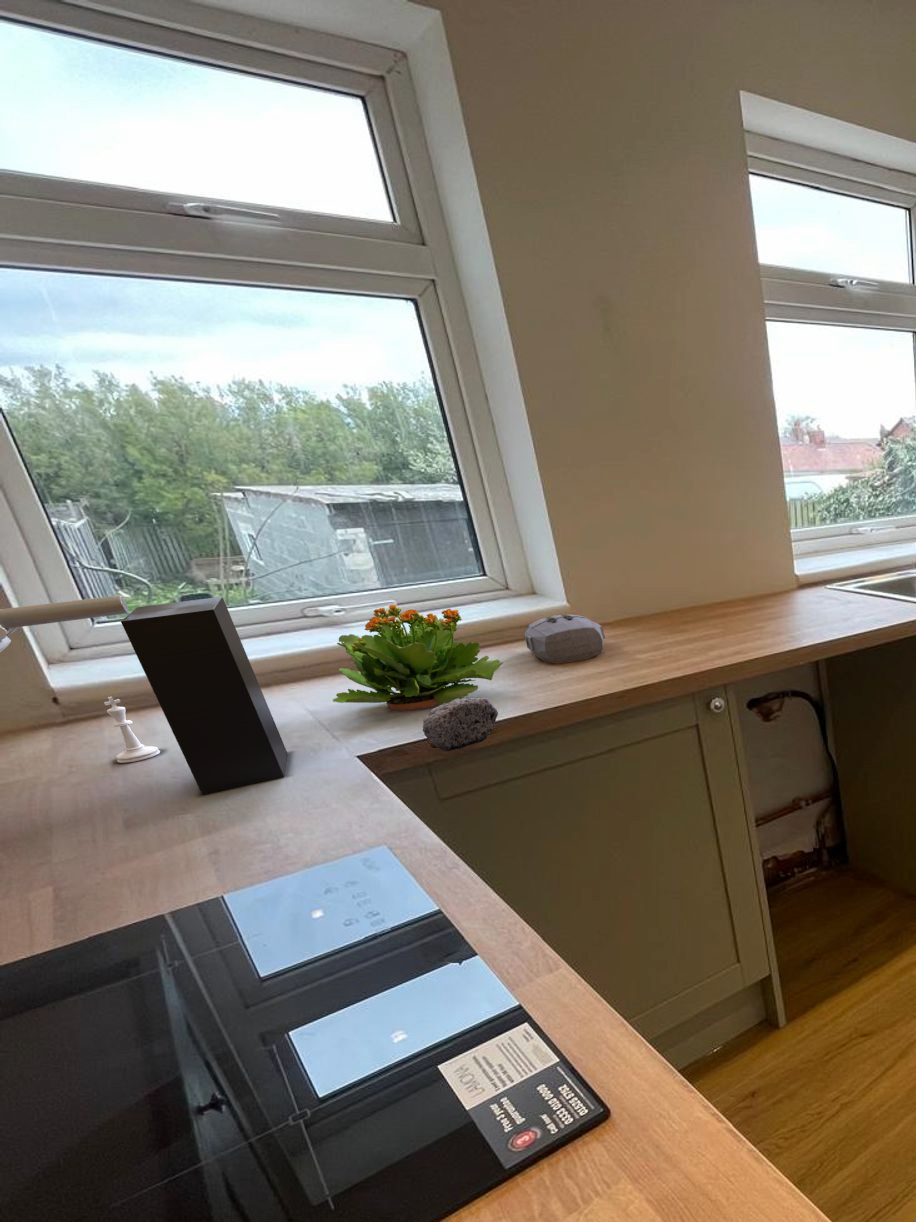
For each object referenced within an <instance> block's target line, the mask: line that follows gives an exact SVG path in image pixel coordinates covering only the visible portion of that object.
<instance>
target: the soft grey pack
mask: <svg viewBox="0 0 916 1222" xmlns="http://www.w3.org/2000/svg"><path fill="white" fill-rule="evenodd" d="M524 638H525V643H526V648H527V649H528V650H529V651H530V652H531V654H533V655H534V656H536V657H537V658H538V659H540V660H542V661H543V662H548V663H553V664H556V663H557V664H564V663H565V664H566V663H571V662H580V661H584V660H586V659H590V658H594V657H595V656H597V655H598V656H599V654H601V653H602V652H603V651H602V650H603V649H604V645H605V641H604V640H605V639H606V636H605V633H604V628H603V626H602V625H600V624H599V623H597V622H594V621H593V620H591V619H589V617H587V616H583V615H578V614H572V613H571V614H569V613H568V614H567V613H566V614H556V615H551V616H550V615H549V616H546V617H543V618H540V619H538V620H536V621H534V622H531V623H530V624H528V626H527V628H526V631H525V632H524Z"/></svg>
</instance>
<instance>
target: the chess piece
mask: <svg viewBox="0 0 916 1222" xmlns="http://www.w3.org/2000/svg"><path fill="white" fill-rule="evenodd" d="M107 699H108V701H104V702H103V704H104V706H110V705H111V707H110V708H108V709H107V710H106V713H107V714H108V715H109V716H110V717H112V718H113V720H115V721H116V722H115V723H113V727H114V728H120V731H121V734H122V738H123V741H124V743H125V744H124V745H125V748H124V749H123V750H124V751H122V752H120V753H118V754H117V755H116V757H115V759H116V762H117V763H120V764H122V763H123V764H124V763H125V764H126V763H133V762H138V761H143V760H147V759H150V758H153V757H155V756H157V755H159V754H160V753H161V750H160V749H159V747H157V746H151V745H150V746H149V745H148V746H145V744H143V743H141V742H140V739H138V737H137V736H136V735H135V734H134V732H133V730H132V728H131V727H130V726H129V725H132V724H133V721H132V720H129V719H128V720H127V719H126V717H127V716H126V711H127V710H126V707H125V706H117V704H119V703H121V699H119V698H117V699H114V698H113V696H108V697H107Z"/></svg>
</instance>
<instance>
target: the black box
mask: <svg viewBox="0 0 916 1222" xmlns="http://www.w3.org/2000/svg"><path fill="white" fill-rule="evenodd" d="M120 624H121V626H122V628H123V629H124V632H125V634H126V636H127V638H128V640H129V642H130V644H131V647H132V649H133V651H134V653H135V655H136V657H137V659H138V661H139V663H140V667H141V668H142V670H143V672H144V674H145V677H146V679H147V680H148V682H149V685H150V687H151V689H152V691H153V693H154V696H155V698H156V700H157V702H158V704H159V706H160V708H161V710H162V712H163V715H164V717H165V719H166V721H167V724H168V725H169V728H170V729H171V732H172V734H173V736H174V738H175V740H176V742H177V745H178V746H179V748H180V750H181V753H182V755H183V757H184V759H185V762H186V763H187V765H188V768H189V770H190V772H191V774H192V776H193V778H194V780H195V783H196V784H197V788H198V789H199V791H200V793H201V795H202V796H204V795H209V794H213V793H218V792H221V791H226V790H231V789H236V788H241V787H244V786H249V785H253V784H254V785H255V784H259V783H262V782H263V783H264V782H267V781H271V780H276V779H281V778H284V777H285V774H286V768H287V767H286V766H287V759H288V751H287V748H286V746H285V744H284V742H283V739H282V737H281V733H280V732H279V729H278V727H277V725H276V722H275V719H274V718H273V714H272V713H271V710H270V708H269V705H268V703H267V701H266V698H265V696H264V693H263V691H262V688H261V686H260V684H259V681H258V679H257V677H256V673H255V672H254V670H253V667H252V664H251V662H250V660H249V657H248V654H247V652H246V649H245V648H244V645H243V642H242V640H241V638H240V635H239V633H238V631H237V628H236V626H235V624H234V621H233V619H232V616H231V614H230V611H229V609H228V607H227V604H226V602H225V599H224V597H223V596H217V597H209V598H201V599H192V600H191V599H190V600H183V601H176V602H168V603H160V604H151V605H144V606H137V607H136V608H134V609H133V610H132V611H131V612H129V613H128V614H127V616H125V617H124V618H123V619H121V620H120Z"/></svg>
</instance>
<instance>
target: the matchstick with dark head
mask: <svg viewBox="0 0 916 1222" xmlns="http://www.w3.org/2000/svg"><path fill="white" fill-rule="evenodd" d="M128 614H130V610H129V606H128V604H127V601H126V600H125V598H124V597H123V595H121V594H119V595H112V596H102V597H95V598H94V597H93V598H85V599H84V598H83V599H77V600H68V601H59V602H50V603H42V604H41V603H40V604H34V605H33V604H32V605H25V606H17V607H9V608H0V623H1V624H2V625H3V626H5V627H7V628H16V627H19V628H22V627H31V626H39V625H48V624H54V623H63V622H71V621H78V620H87V619H95V618H103V617H110V616H111V617H112V616H118V615H128Z"/></svg>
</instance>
